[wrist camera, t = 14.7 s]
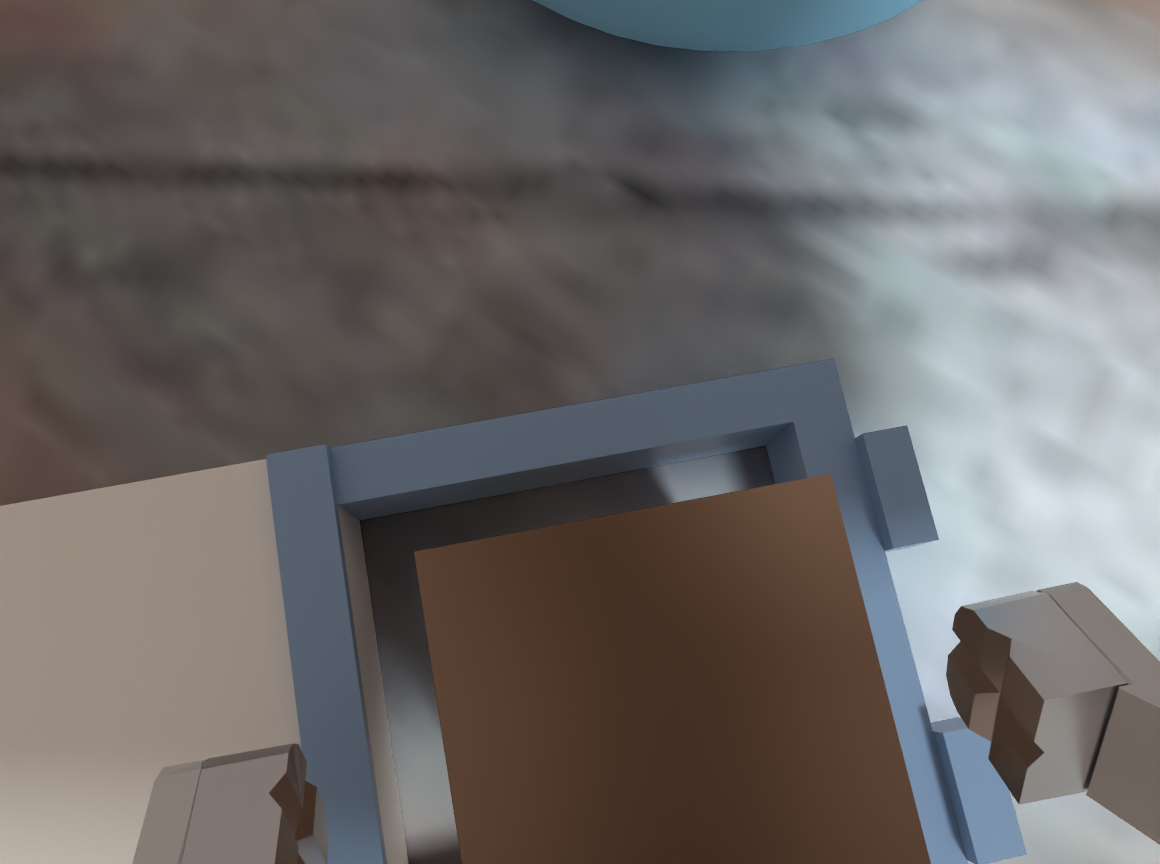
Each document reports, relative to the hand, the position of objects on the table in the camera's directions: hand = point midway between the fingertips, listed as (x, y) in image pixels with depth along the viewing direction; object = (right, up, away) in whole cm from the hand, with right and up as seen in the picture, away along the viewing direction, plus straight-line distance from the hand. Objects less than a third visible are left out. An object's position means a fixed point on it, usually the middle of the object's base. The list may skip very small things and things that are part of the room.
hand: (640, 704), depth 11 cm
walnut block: (0, -1, +6) cm, 6 cm away
